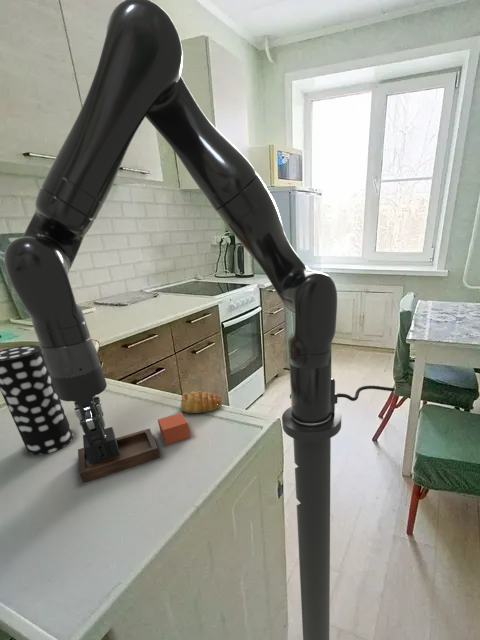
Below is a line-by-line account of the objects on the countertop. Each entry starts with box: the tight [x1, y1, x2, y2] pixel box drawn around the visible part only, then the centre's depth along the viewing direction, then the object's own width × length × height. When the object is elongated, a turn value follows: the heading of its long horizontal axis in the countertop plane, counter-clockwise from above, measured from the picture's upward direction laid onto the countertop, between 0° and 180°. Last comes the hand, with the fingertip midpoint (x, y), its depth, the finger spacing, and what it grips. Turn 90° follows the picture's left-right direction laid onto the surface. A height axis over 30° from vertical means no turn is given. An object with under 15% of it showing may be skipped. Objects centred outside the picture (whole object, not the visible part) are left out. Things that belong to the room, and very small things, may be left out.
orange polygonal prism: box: [157, 412, 191, 445], centre depth 73 cm, size 5×5×4 cm
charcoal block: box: [82, 426, 120, 464], centre depth 65 cm, size 5×5×4 cm
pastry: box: [180, 390, 223, 414], centre depth 83 cm, size 9×7×4 cm
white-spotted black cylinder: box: [0, 344, 74, 456], centre depth 69 cm, size 8×8×20 cm
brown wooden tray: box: [77, 427, 161, 484], centre depth 67 cm, size 13×8×2 cm, turn 120°
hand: (103, 450), depth 65 cm, fingers closed on charcoal block, 5 cm apart
